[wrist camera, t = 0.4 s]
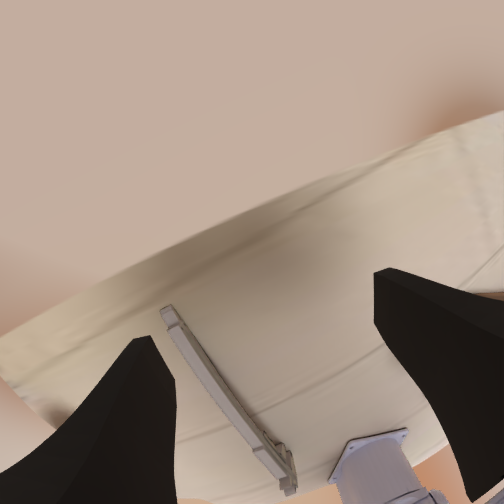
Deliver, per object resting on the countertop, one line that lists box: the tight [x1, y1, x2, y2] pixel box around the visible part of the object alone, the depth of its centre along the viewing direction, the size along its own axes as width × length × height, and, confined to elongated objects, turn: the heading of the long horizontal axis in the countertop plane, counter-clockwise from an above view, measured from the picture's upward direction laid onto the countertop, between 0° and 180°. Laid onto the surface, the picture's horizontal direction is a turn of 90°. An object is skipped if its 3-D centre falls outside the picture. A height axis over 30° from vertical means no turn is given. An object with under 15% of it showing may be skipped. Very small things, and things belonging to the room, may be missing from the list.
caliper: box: [160, 305, 298, 496], centre depth 20 cm, size 20×1×6 cm, turn 28°
